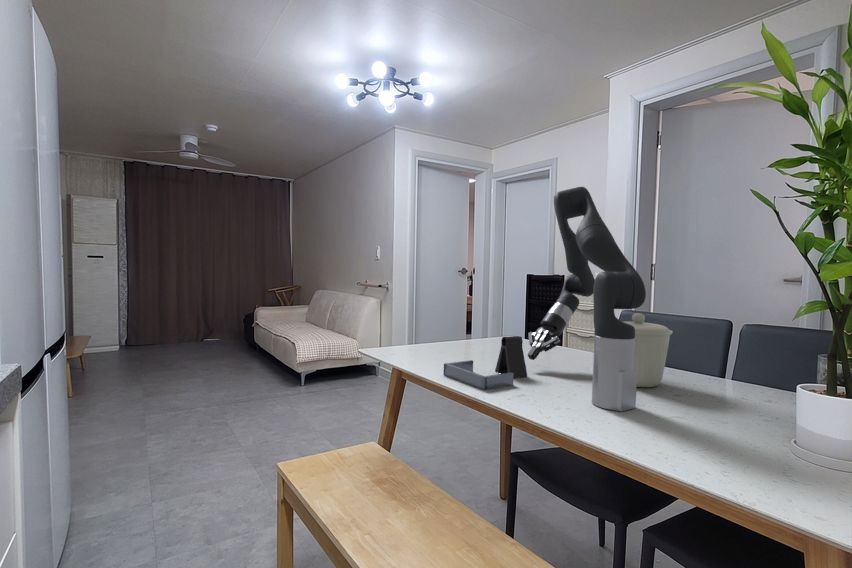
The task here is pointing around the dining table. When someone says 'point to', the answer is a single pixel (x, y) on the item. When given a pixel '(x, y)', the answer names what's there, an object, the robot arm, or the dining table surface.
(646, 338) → the canister
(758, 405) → the dining table surface
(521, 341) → the black folding stand
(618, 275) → the robot arm
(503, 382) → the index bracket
